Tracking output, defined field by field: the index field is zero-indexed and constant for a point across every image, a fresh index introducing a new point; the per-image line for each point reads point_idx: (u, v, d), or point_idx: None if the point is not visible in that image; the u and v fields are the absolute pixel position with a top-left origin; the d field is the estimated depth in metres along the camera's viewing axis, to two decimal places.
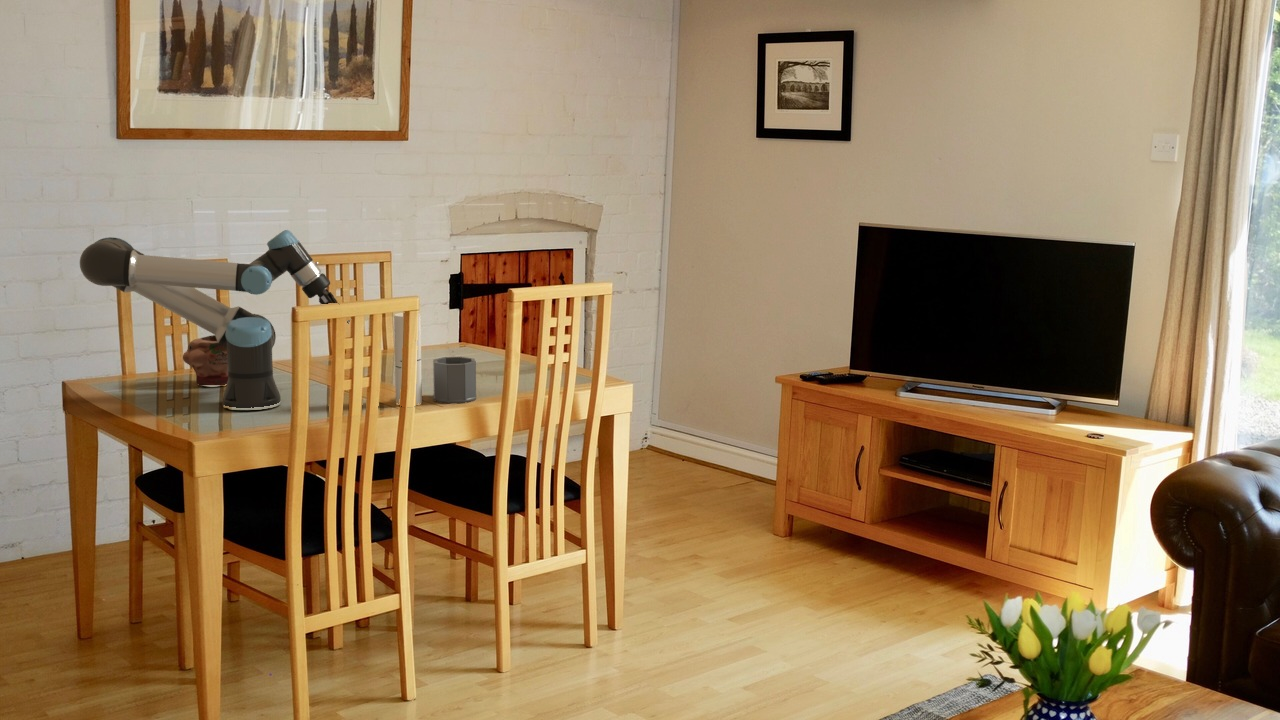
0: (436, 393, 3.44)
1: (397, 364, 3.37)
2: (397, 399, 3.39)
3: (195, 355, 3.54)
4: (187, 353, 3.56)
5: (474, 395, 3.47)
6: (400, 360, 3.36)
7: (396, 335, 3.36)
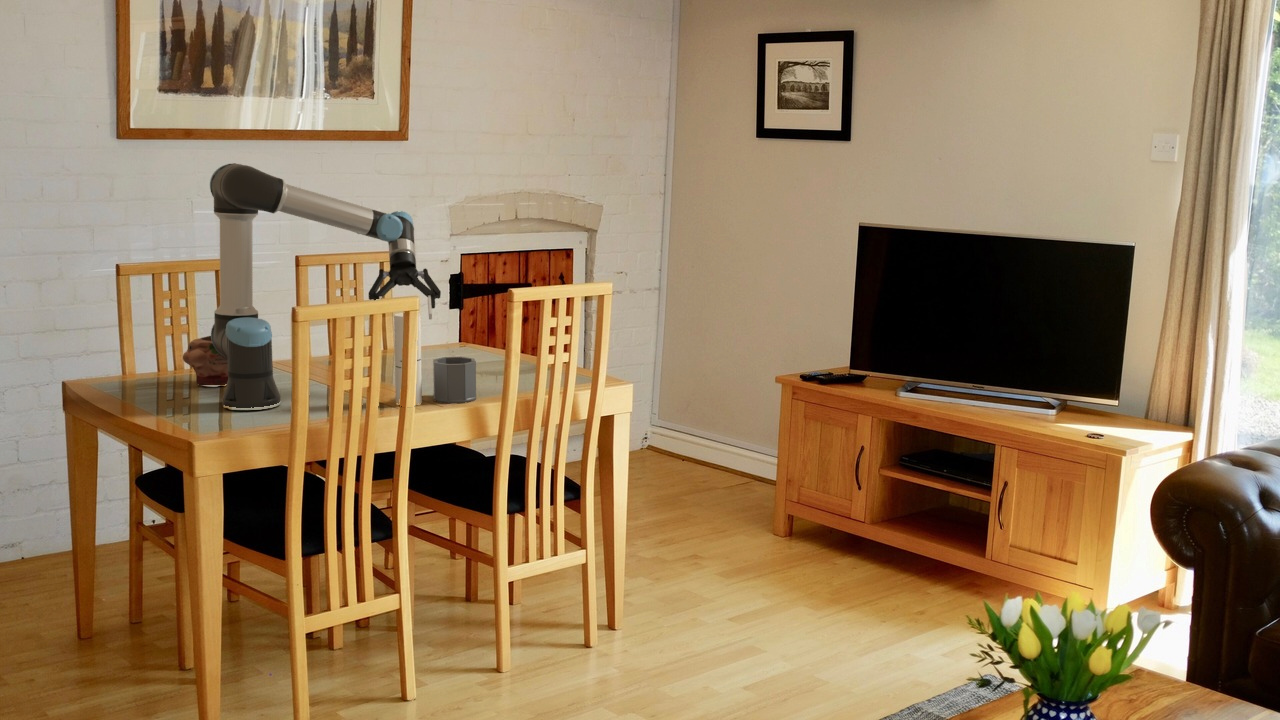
0: (436, 393, 3.44)
1: (397, 364, 3.37)
2: (397, 399, 3.39)
3: (195, 355, 3.54)
4: (187, 353, 3.56)
5: (474, 395, 3.47)
6: (400, 360, 3.36)
7: (396, 335, 3.36)
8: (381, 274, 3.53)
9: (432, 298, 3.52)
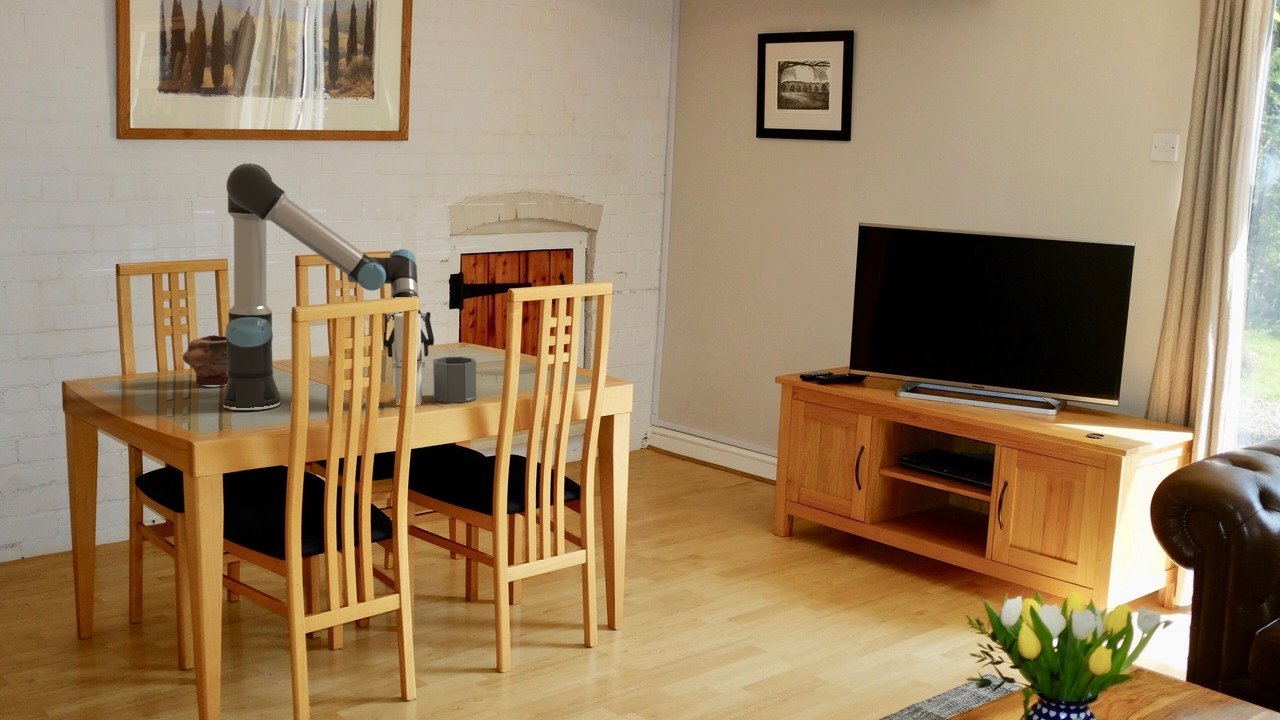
0: (436, 393, 3.44)
1: (397, 364, 3.37)
2: (397, 399, 3.39)
3: (195, 355, 3.54)
4: (187, 353, 3.56)
5: (474, 395, 3.47)
6: (400, 360, 3.36)
7: (396, 335, 3.36)
8: (385, 318, 3.42)
9: (425, 346, 3.40)
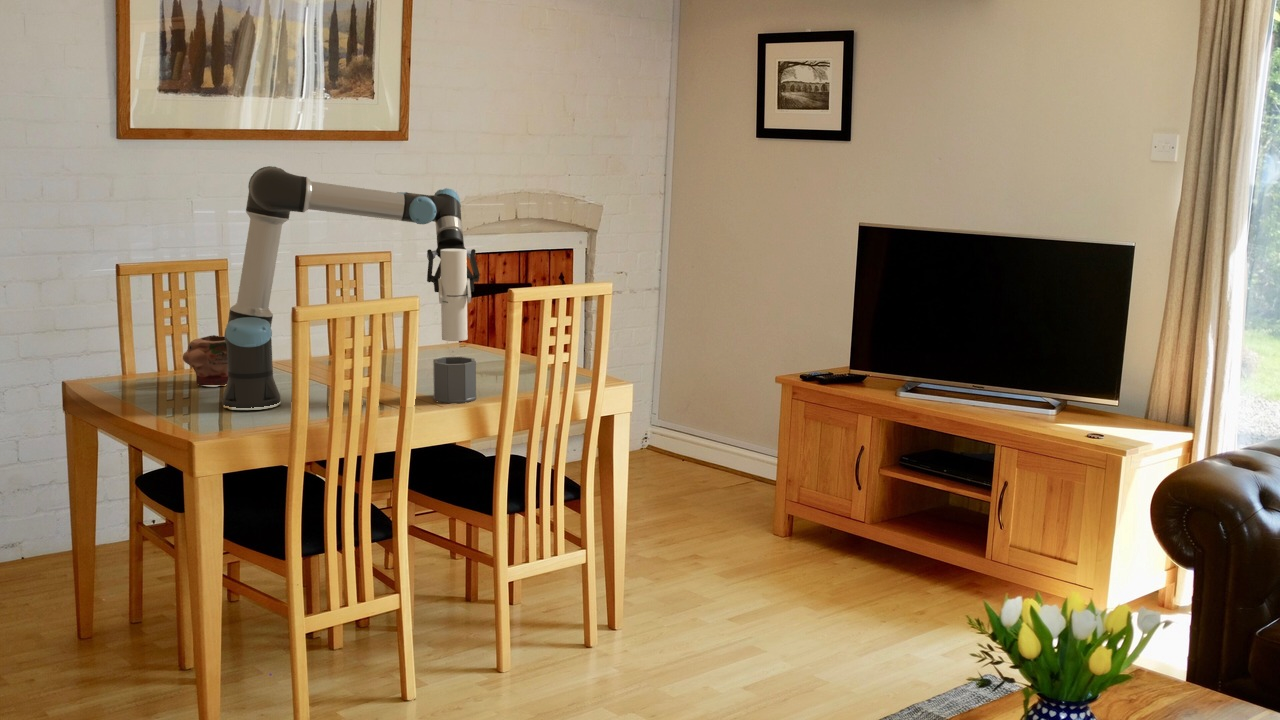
0: (436, 393, 3.44)
1: (443, 299, 3.41)
2: (443, 334, 3.43)
3: (195, 355, 3.54)
4: (187, 353, 3.56)
5: (474, 395, 3.47)
6: (447, 295, 3.40)
7: (443, 270, 3.39)
8: (431, 254, 3.46)
9: (471, 282, 3.44)
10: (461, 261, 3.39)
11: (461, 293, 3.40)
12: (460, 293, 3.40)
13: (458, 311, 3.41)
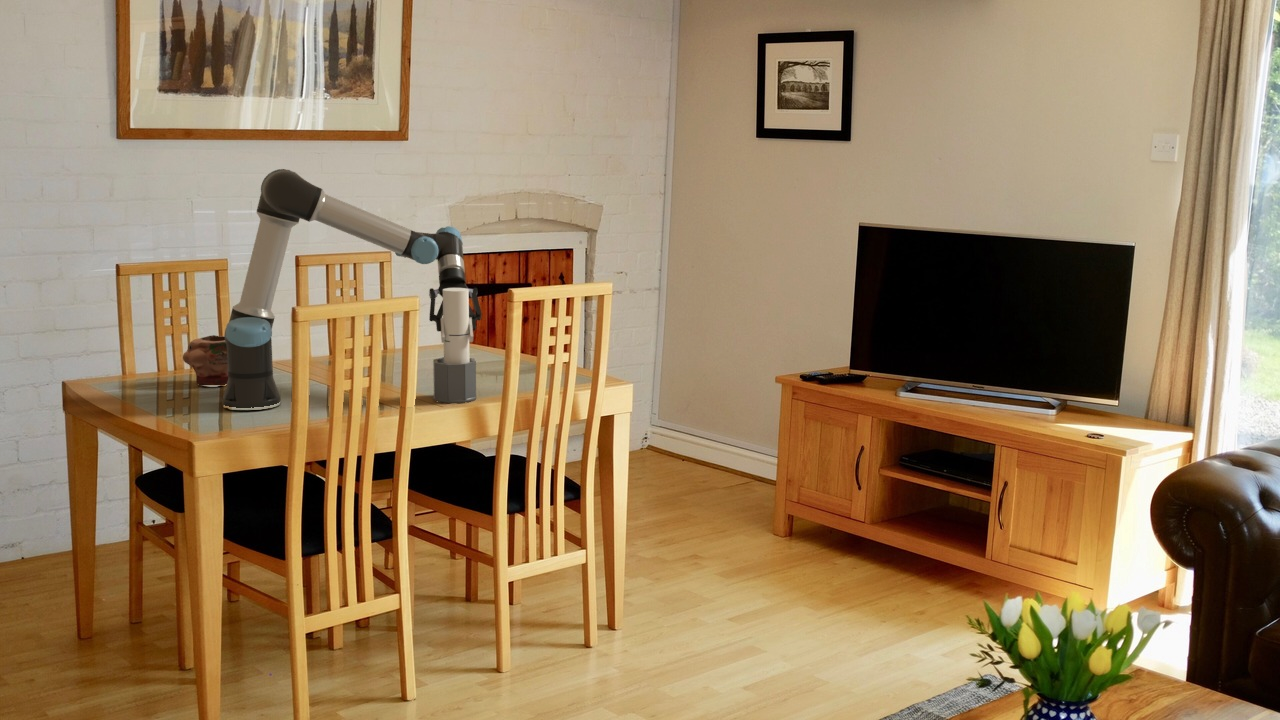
0: (436, 393, 3.44)
1: (446, 338, 3.43)
2: None
3: (194, 355, 3.54)
4: (187, 353, 3.56)
5: (474, 395, 3.47)
6: (449, 334, 3.42)
7: (445, 310, 3.42)
8: (433, 293, 3.48)
9: (473, 320, 3.46)
10: (463, 300, 3.41)
11: (463, 332, 3.43)
12: (462, 332, 3.42)
13: (460, 350, 3.43)
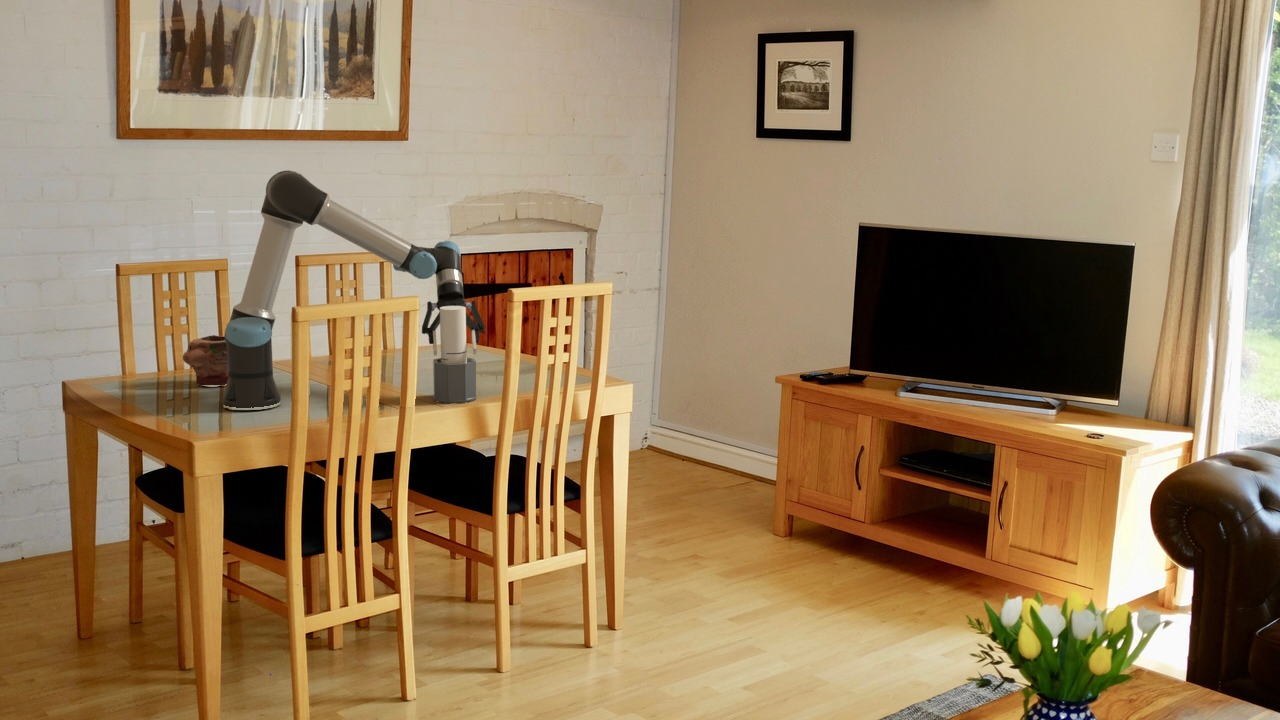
0: (436, 393, 3.44)
1: (443, 356, 3.44)
2: None
3: (195, 355, 3.54)
4: (187, 353, 3.56)
5: (474, 395, 3.47)
6: (446, 352, 3.43)
7: (442, 328, 3.42)
8: (430, 306, 3.49)
9: (477, 333, 3.47)
10: (460, 319, 3.41)
11: (461, 350, 3.43)
12: (460, 350, 3.43)
13: None
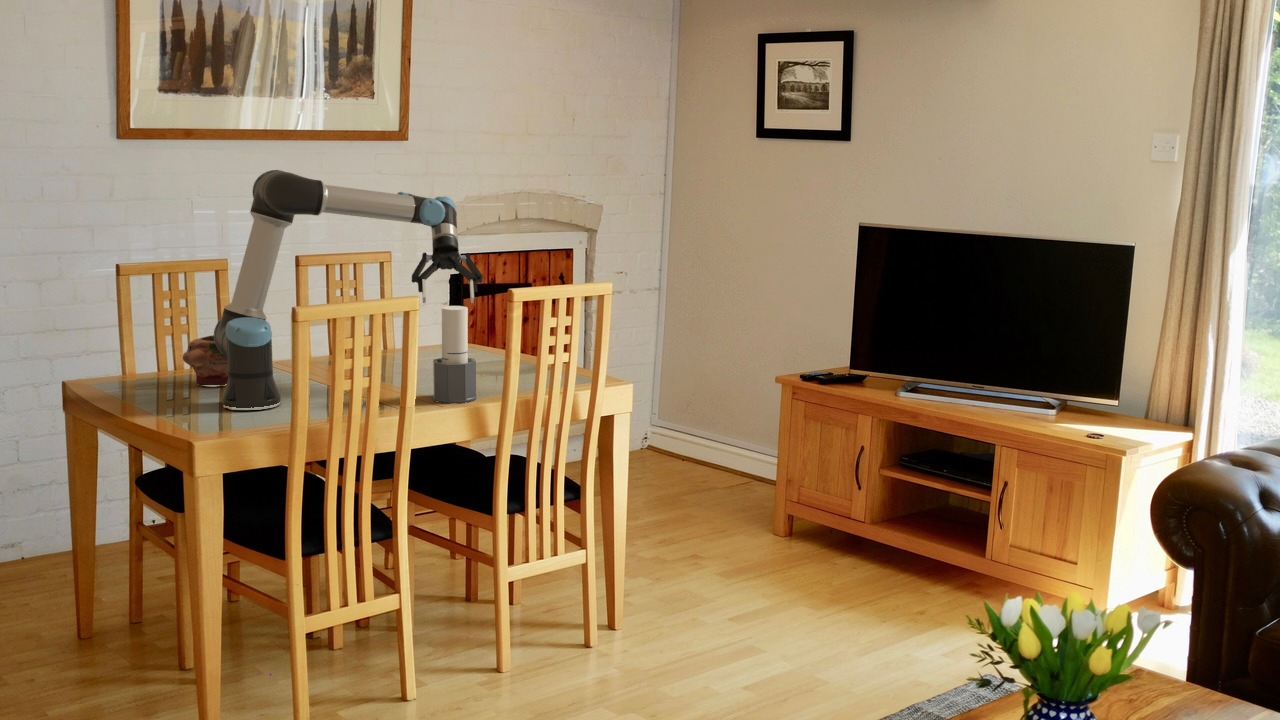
0: (436, 393, 3.44)
1: (444, 356, 3.44)
2: None
3: (195, 355, 3.54)
4: (187, 353, 3.56)
5: (474, 395, 3.47)
6: (447, 352, 3.43)
7: (444, 328, 3.42)
8: (424, 257, 3.56)
9: (475, 282, 3.55)
10: (462, 319, 3.42)
11: (462, 351, 3.43)
12: (461, 351, 3.43)
13: None
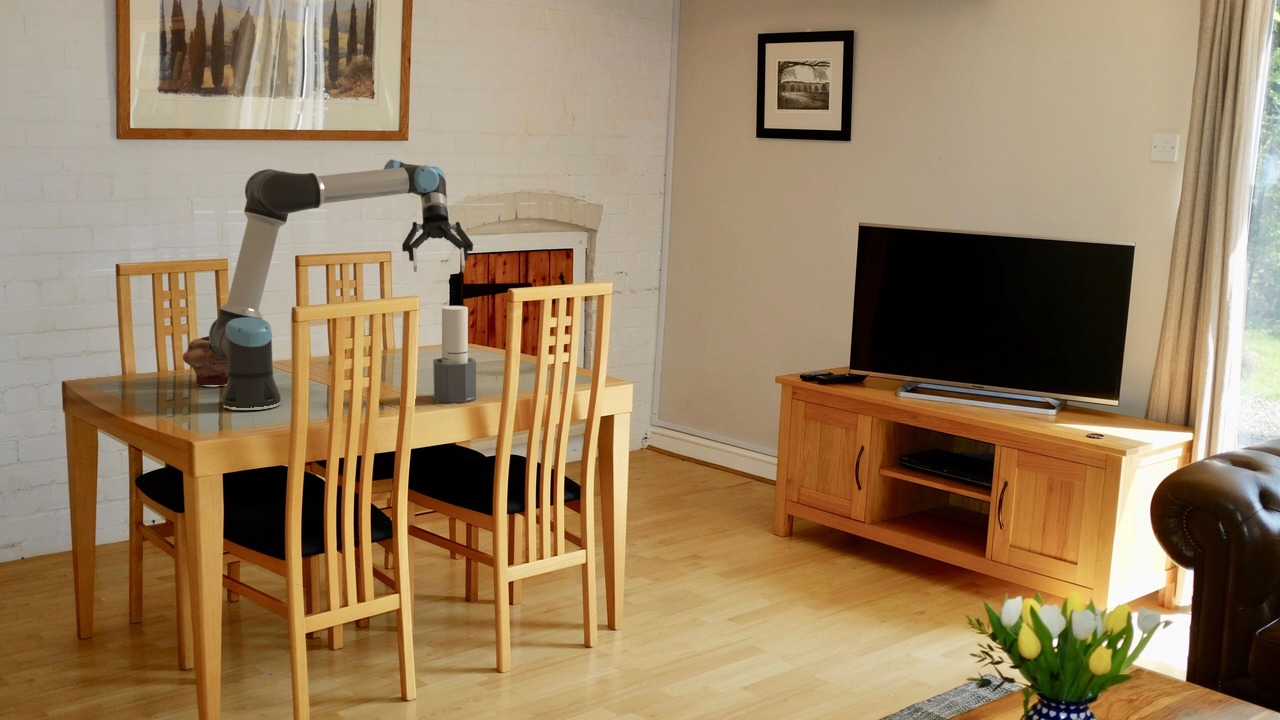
0: (436, 393, 3.44)
1: (444, 356, 3.44)
2: None
3: (195, 355, 3.54)
4: (187, 353, 3.56)
5: (474, 395, 3.47)
6: (447, 352, 3.43)
7: (444, 327, 3.43)
8: (414, 227, 3.58)
9: (465, 251, 3.57)
10: (462, 319, 3.42)
11: (462, 350, 3.44)
12: (461, 350, 3.43)
13: None
